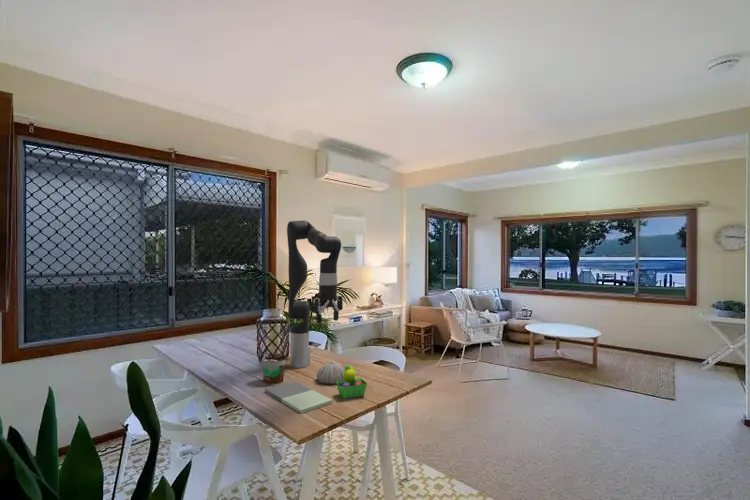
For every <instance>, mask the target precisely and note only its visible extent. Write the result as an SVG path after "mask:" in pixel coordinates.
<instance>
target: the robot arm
mask: <svg viewBox="0 0 750 500" xmlns="http://www.w3.org/2000/svg"><path fill="white" fill-rule="evenodd" d="M286 233H287V234H286V235H287V246H288V247H287V249H288V307H287V309H288V311H287V312H288V317H289V319H291V320H302V321H301V322H299V323H297V324H294V325H292V326H291V327H290V358H289V359H290V360H289V361H290V362H289V364H290V367H291V368H295V369H298V368H299V369H301V368H306V367H308V366H310V365H311V346H310V314H311V313H313V314H315V317H316V318H315V321H316V323H317V324H322V318H323V317H322V313H323V311H325V309H328V308H331V309H332V310H333V318H332V319H333V320H334V321H339V317H340V316H339V315H340V311H342V310H343V307H344V306H343V296H342V295H337V294H338V274H337V273H338V269H337V268H338V267H337V266H338V265H337V264H338V259H339V256H340V253H341V249H342V241H341V239H340V238H339V237H338V236H333V235H331V236H328V235H327V234H325V233H324V232H322V231H320V230H318V229H316V227H314V226H313V224H311V223H310V222H309V221H307V220H290V221H288V223H287V226H286ZM305 239H307V241H308V243H309V244H310V245H312V246H314V247H315V249H316V251H317V252H319V253H322V254H329V255H328V257H326V258H325V257H324V258H323V259H321V260H320V262H319V278H318V280H319V282H318V289H319V290H318V294H319V298H316V297H315V298H312V303H311V304H312V305H310V302H309V301H308V300H296V297H297V295H298V293H299V291H300V290H301V288H302V286H304V284H305V282H306V280H307V278H308V264H307V261H306V260H305V259H304V257H303V256H302V254H301V253H300V251H299V249H298V245H297V241H298V240H305ZM310 311H311V313H310Z"/></svg>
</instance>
